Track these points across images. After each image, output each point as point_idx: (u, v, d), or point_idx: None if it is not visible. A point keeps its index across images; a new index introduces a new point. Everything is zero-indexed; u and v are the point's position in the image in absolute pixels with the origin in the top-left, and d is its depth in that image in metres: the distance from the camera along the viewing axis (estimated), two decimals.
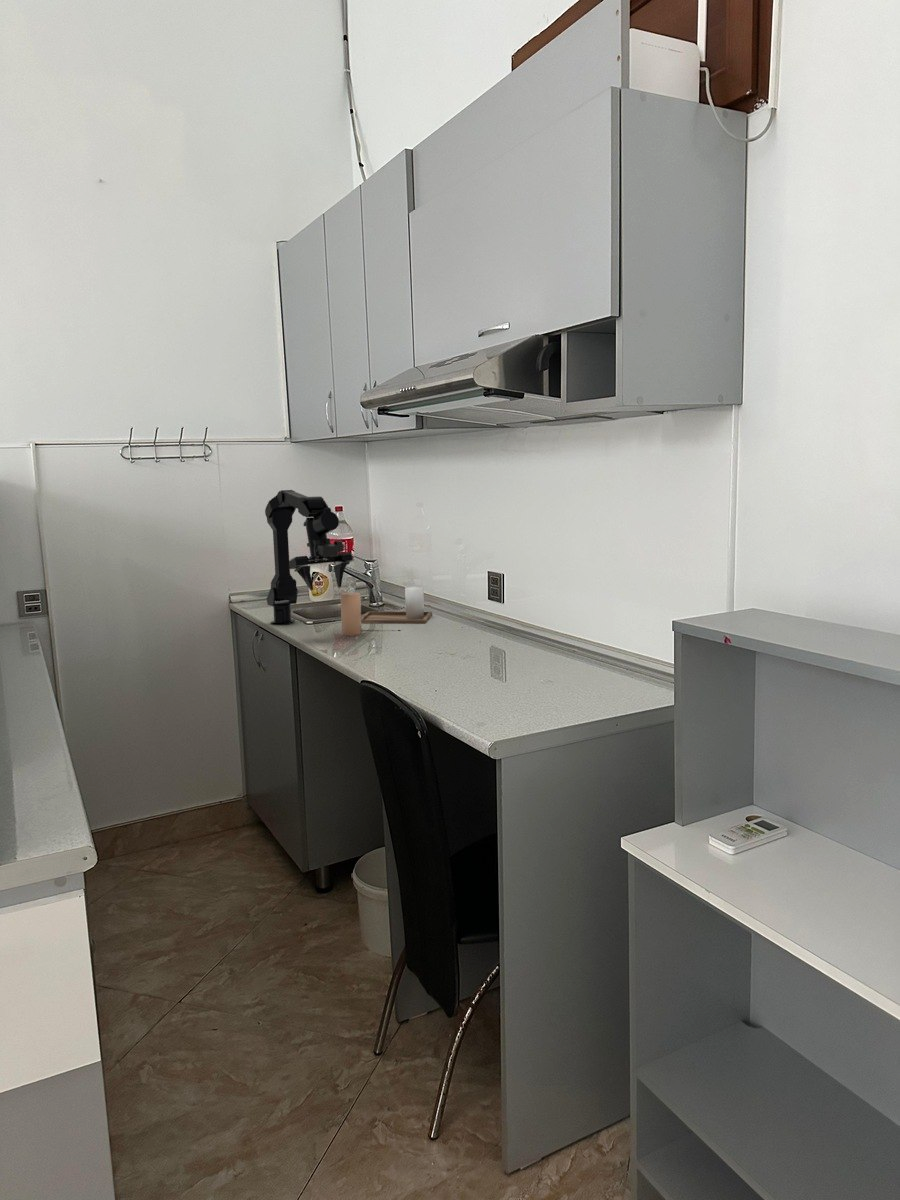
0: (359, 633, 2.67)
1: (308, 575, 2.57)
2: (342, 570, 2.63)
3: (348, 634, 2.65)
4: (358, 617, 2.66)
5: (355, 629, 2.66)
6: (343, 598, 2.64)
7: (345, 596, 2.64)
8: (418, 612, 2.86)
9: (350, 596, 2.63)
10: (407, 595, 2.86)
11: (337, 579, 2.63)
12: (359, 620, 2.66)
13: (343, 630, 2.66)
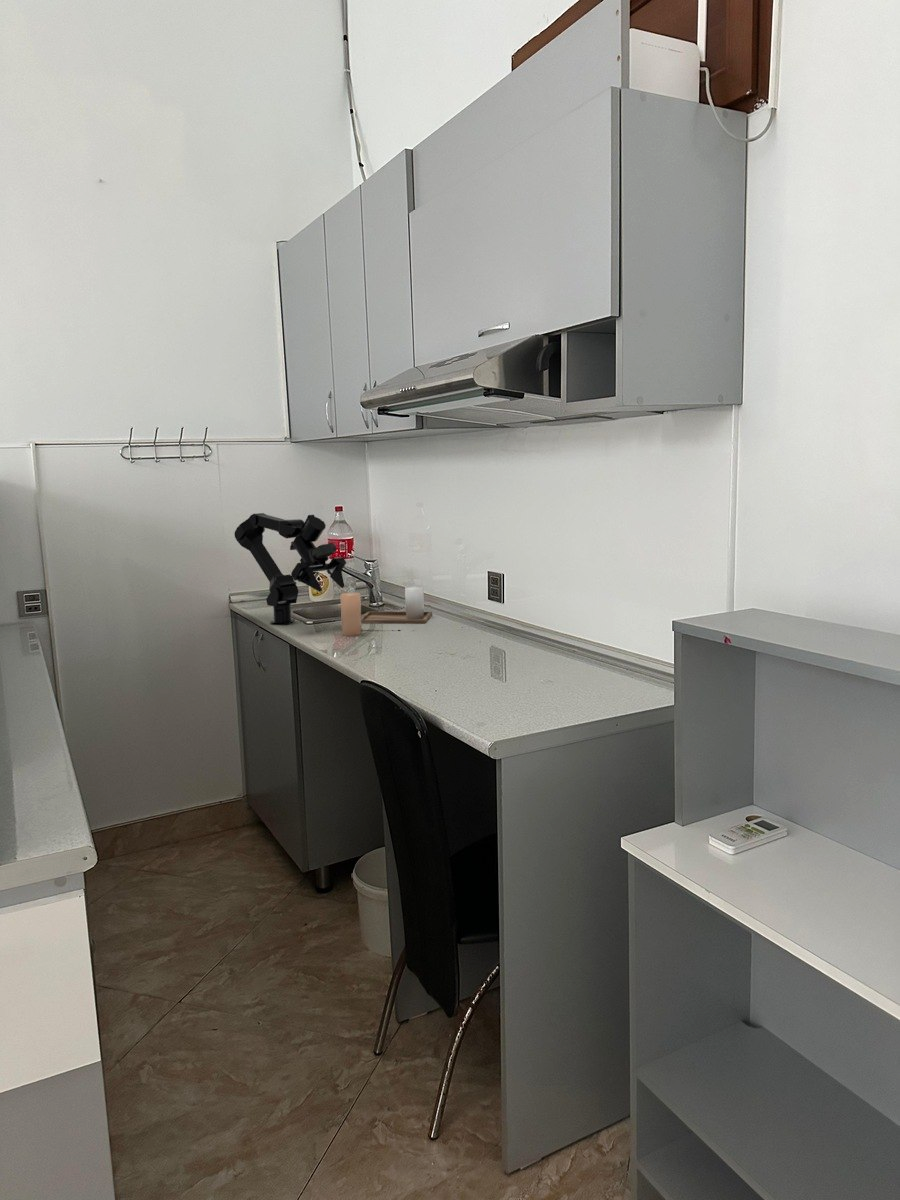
0: (359, 633, 2.67)
1: (313, 577, 2.68)
2: (340, 572, 2.76)
3: (348, 634, 2.65)
4: (358, 617, 2.66)
5: (355, 629, 2.66)
6: (343, 598, 2.64)
7: (345, 596, 2.64)
8: (418, 612, 2.86)
9: (350, 596, 2.63)
10: (407, 595, 2.86)
11: (338, 582, 2.76)
12: (359, 620, 2.66)
13: (343, 630, 2.66)
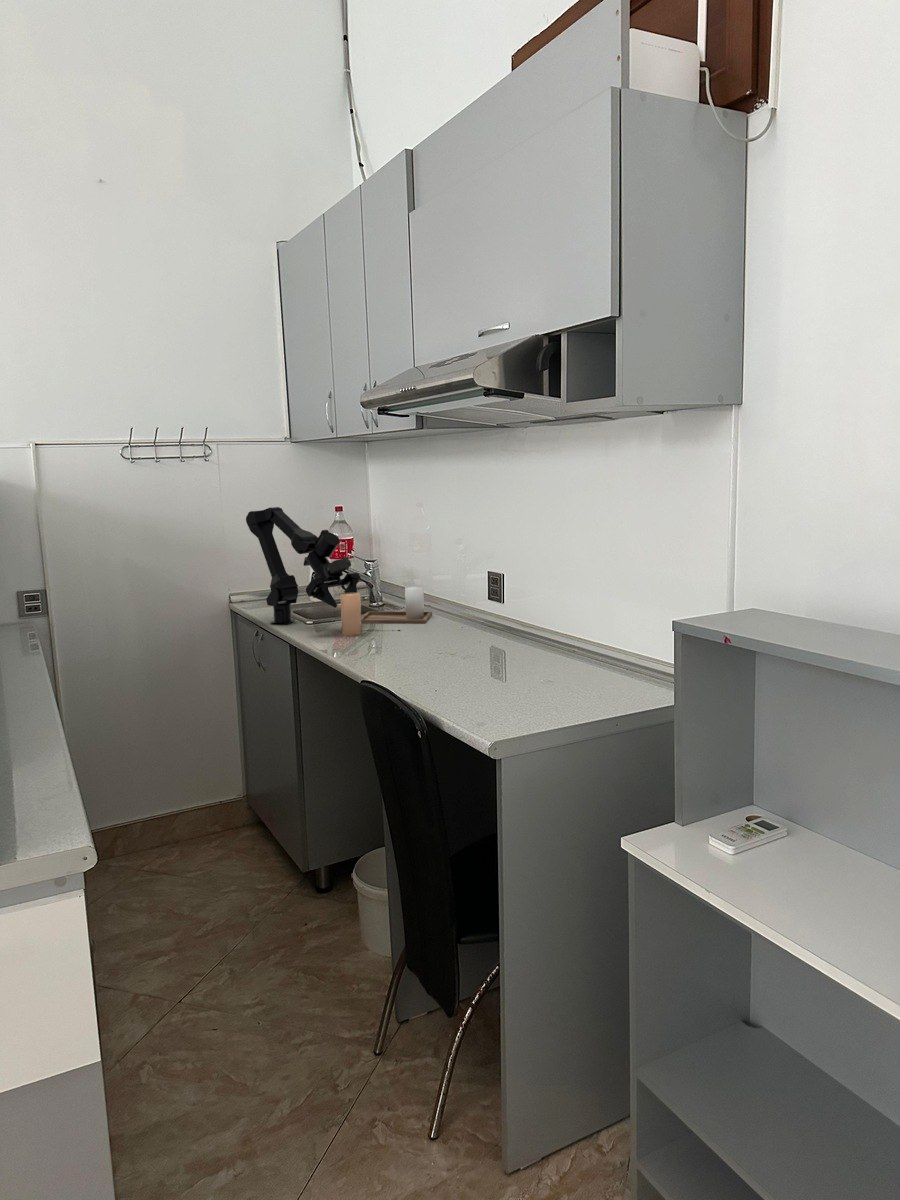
0: (359, 633, 2.67)
1: (328, 593, 2.65)
2: (355, 587, 2.73)
3: (348, 634, 2.65)
4: (358, 617, 2.66)
5: (355, 629, 2.66)
6: (343, 598, 2.64)
7: (345, 596, 2.64)
8: (418, 612, 2.86)
9: (350, 596, 2.63)
10: (407, 595, 2.86)
11: None
12: (359, 620, 2.66)
13: (343, 630, 2.66)
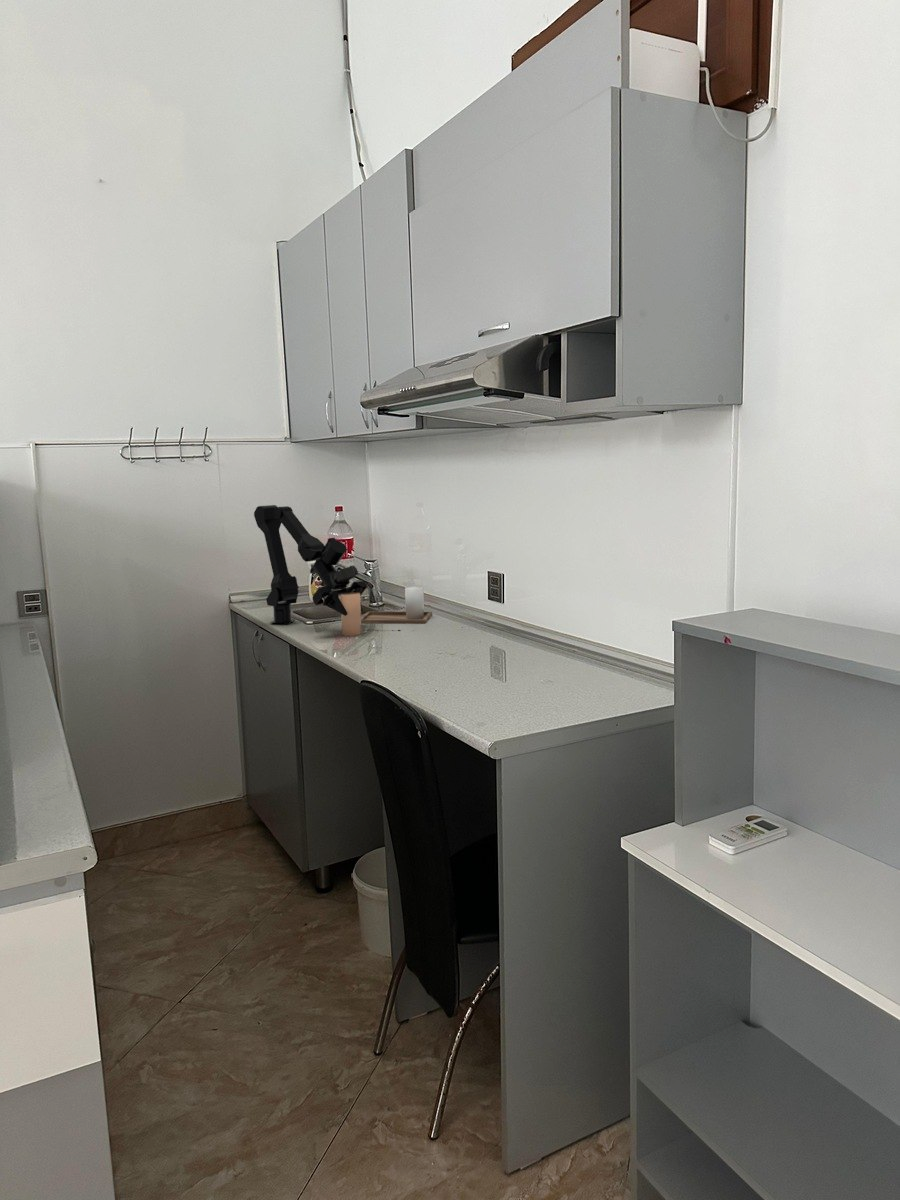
0: (359, 633, 2.67)
1: (338, 601, 2.64)
2: None
3: (348, 634, 2.65)
4: (358, 617, 2.66)
5: (355, 629, 2.65)
6: (343, 598, 2.64)
7: (345, 596, 2.64)
8: (418, 612, 2.86)
9: (350, 596, 2.63)
10: (407, 595, 2.86)
11: None
12: (359, 620, 2.66)
13: (343, 630, 2.66)
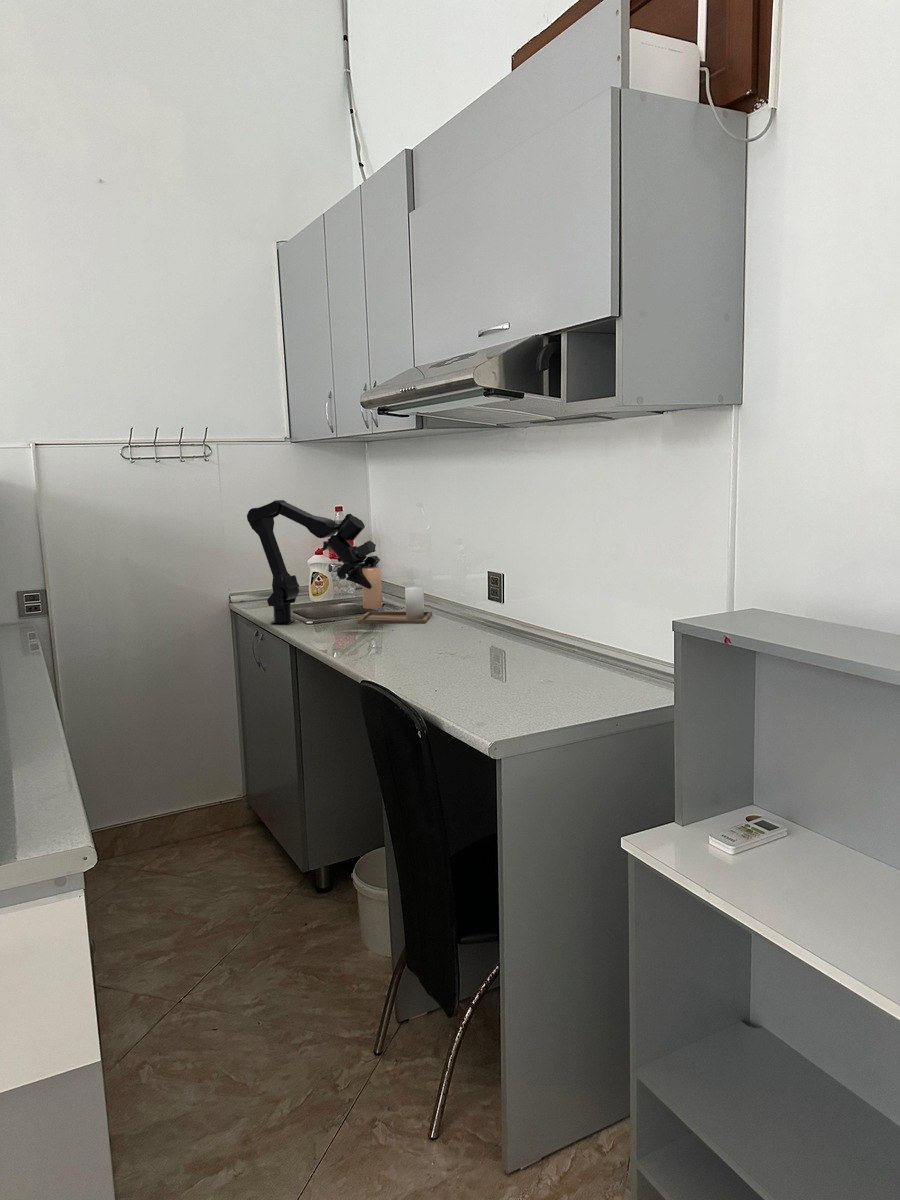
0: (381, 606, 2.75)
1: (363, 575, 2.70)
2: None
3: (372, 607, 2.72)
4: (380, 590, 2.74)
5: (379, 602, 2.73)
6: (367, 572, 2.71)
7: (369, 570, 2.70)
8: (418, 612, 2.86)
9: (374, 570, 2.71)
10: (407, 595, 2.86)
11: None
12: (381, 593, 2.74)
13: (366, 603, 2.73)
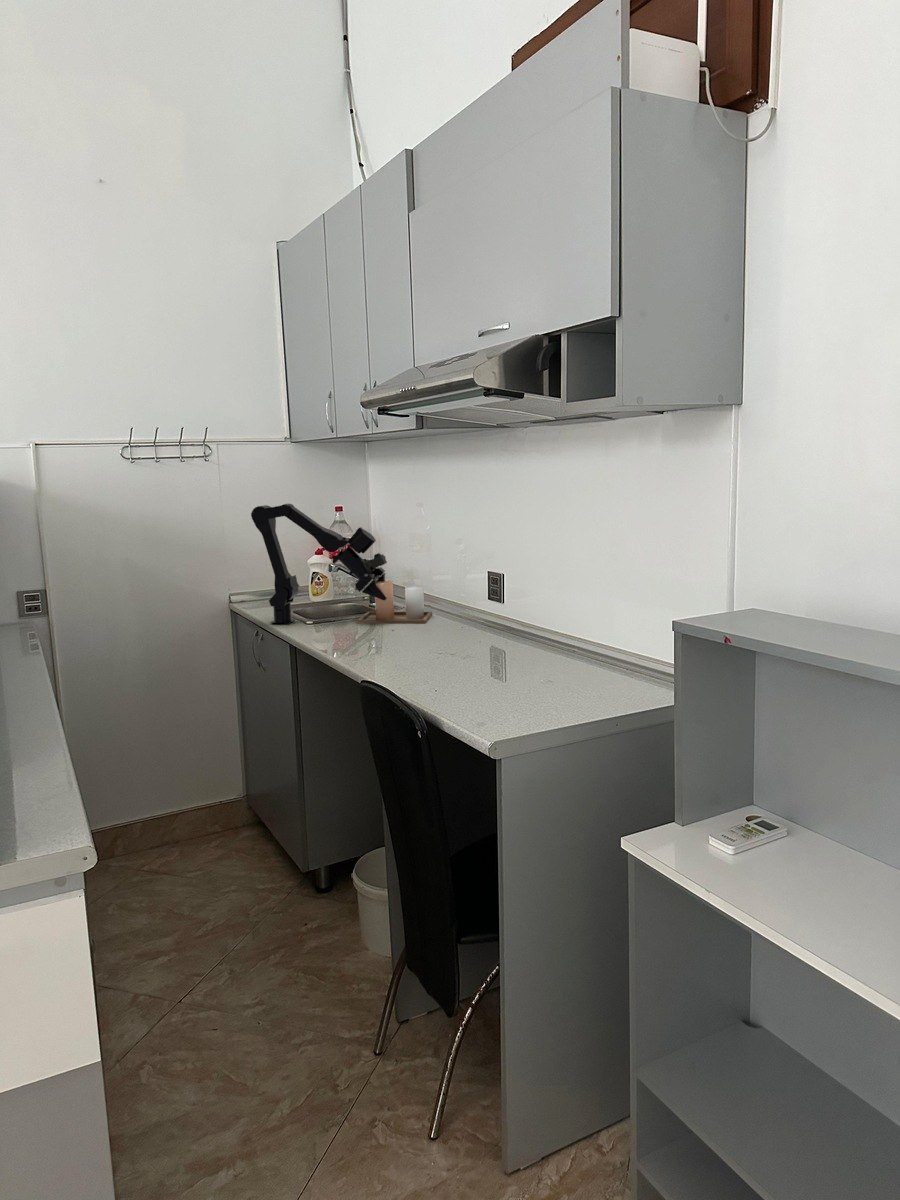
0: None
1: (378, 587, 2.78)
2: None
3: (387, 619, 2.82)
4: (393, 603, 2.84)
5: (392, 614, 2.83)
6: (382, 586, 2.80)
7: (384, 584, 2.80)
8: (418, 612, 2.86)
9: (389, 583, 2.81)
10: (407, 595, 2.86)
11: None
12: (393, 606, 2.85)
13: (381, 616, 2.82)
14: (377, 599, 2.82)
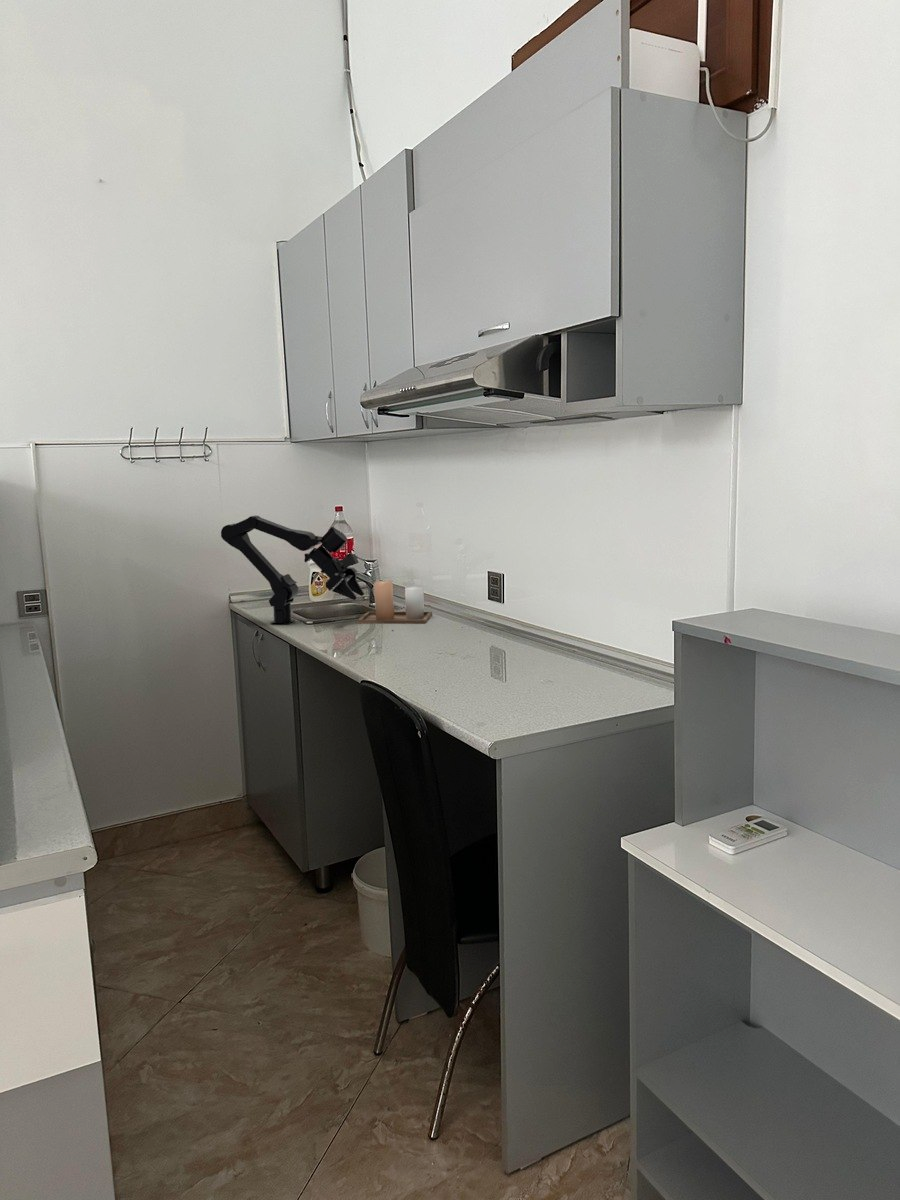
0: None
1: (348, 586, 2.79)
2: (356, 581, 2.90)
3: (387, 619, 2.82)
4: (393, 603, 2.84)
5: (392, 614, 2.83)
6: (381, 586, 2.80)
7: (384, 584, 2.80)
8: (418, 612, 2.86)
9: (388, 583, 2.81)
10: (407, 595, 2.86)
11: (356, 590, 2.89)
12: (393, 606, 2.85)
13: (381, 616, 2.82)
14: (377, 599, 2.82)
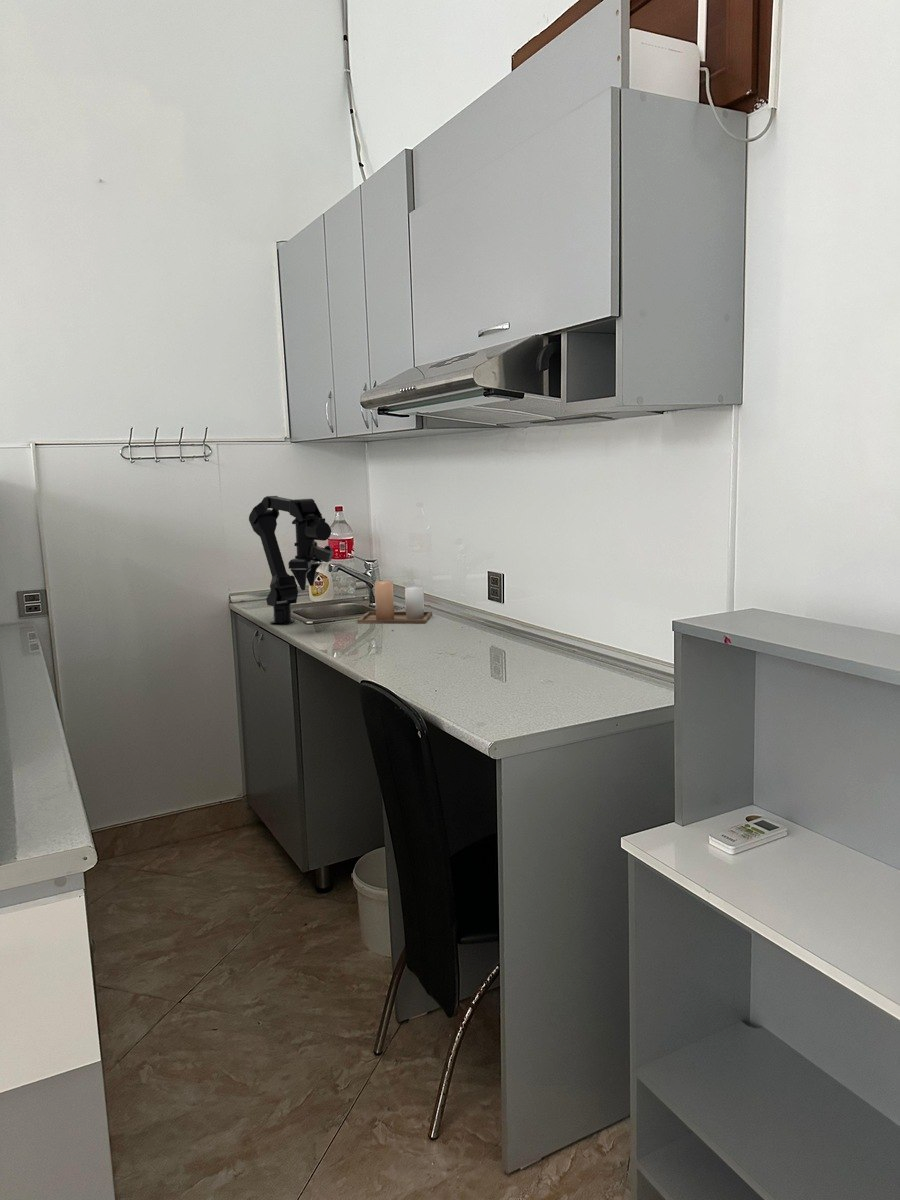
0: None
1: (306, 576, 2.71)
2: (316, 570, 2.82)
3: None
4: (393, 603, 2.84)
5: (392, 614, 2.83)
6: (382, 586, 2.80)
7: (384, 584, 2.80)
8: (418, 612, 2.86)
9: (389, 584, 2.80)
10: (407, 595, 2.86)
11: (309, 578, 2.81)
12: (393, 606, 2.84)
13: (381, 616, 2.82)
14: (377, 599, 2.82)
